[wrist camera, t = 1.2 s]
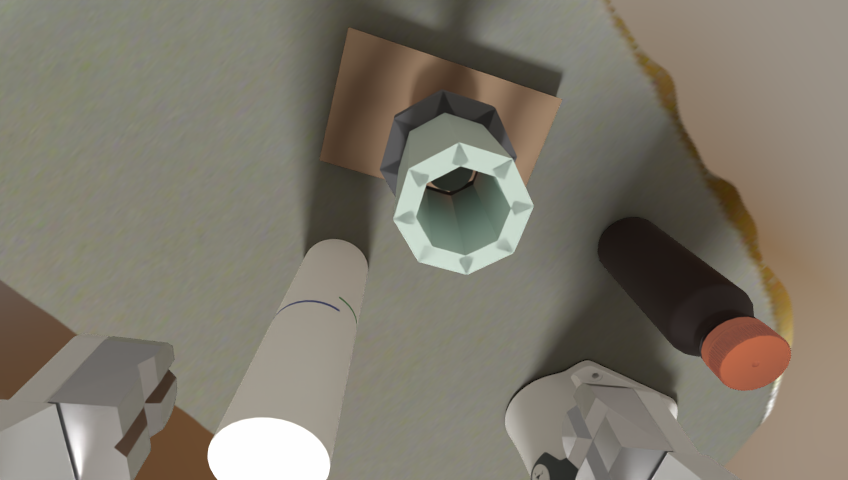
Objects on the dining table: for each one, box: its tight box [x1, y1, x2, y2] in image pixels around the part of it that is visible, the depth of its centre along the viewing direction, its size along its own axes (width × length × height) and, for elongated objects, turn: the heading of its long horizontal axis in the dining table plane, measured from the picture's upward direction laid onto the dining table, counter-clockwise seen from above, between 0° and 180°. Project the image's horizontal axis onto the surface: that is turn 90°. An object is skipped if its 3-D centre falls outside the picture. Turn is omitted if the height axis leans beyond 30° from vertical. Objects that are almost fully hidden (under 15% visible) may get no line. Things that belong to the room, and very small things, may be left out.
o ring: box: [380, 89, 517, 197], centre depth 31 cm, size 9×9×2 cm
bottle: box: [598, 217, 791, 391], centre depth 40 cm, size 7×7×20 cm
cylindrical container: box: [208, 239, 368, 480], centre depth 38 cm, size 7×7×25 cm
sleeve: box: [393, 113, 534, 275], centre depth 25 cm, size 6×6×10 cm
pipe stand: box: [319, 27, 562, 192], centre depth 36 cm, size 20×12×16 cm, turn 73°
